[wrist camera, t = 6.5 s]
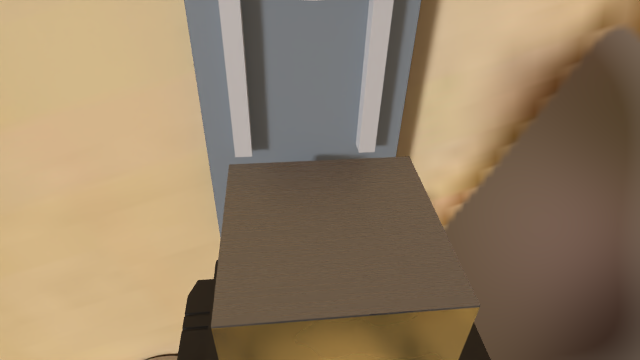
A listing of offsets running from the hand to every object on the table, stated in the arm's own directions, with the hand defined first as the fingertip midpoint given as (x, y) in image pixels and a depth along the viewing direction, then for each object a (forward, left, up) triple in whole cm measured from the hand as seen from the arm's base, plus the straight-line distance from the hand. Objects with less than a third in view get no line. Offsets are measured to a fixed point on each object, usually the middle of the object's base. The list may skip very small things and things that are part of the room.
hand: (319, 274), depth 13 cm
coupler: (0, 0, 0) cm, 0 cm away
